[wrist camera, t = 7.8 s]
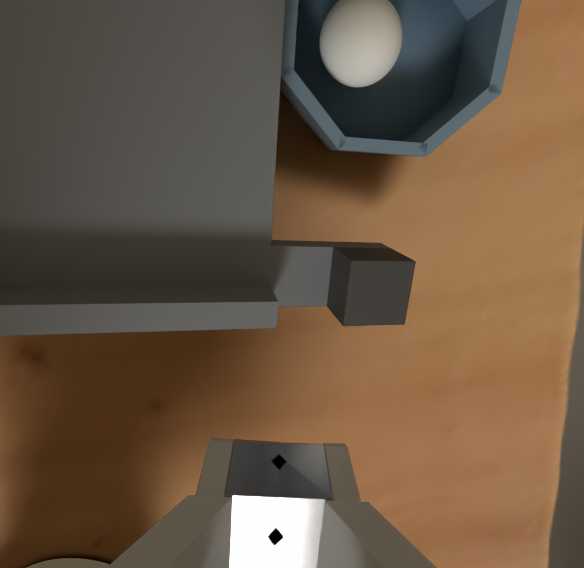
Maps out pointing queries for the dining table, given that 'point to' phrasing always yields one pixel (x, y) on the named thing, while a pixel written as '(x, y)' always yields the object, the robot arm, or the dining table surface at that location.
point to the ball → (360, 41)
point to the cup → (401, 75)
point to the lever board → (158, 176)
